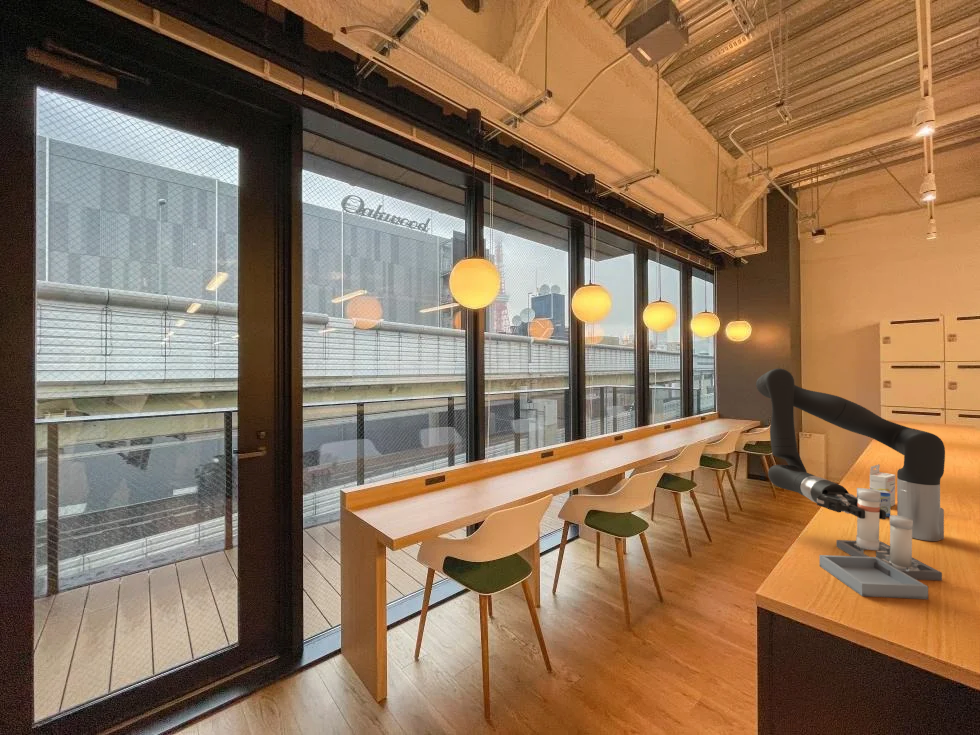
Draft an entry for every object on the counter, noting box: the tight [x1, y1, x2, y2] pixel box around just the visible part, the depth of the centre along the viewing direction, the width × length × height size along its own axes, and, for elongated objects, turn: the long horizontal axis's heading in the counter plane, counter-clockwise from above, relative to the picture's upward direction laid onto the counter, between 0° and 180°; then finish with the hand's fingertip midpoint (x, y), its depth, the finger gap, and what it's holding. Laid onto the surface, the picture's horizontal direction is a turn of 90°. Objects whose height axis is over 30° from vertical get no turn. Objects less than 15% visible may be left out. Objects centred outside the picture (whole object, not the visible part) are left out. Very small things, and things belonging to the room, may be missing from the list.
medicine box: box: [856, 487, 891, 518], centre depth 143 cm, size 8×4×9 cm, turn 68°
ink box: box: [869, 464, 896, 508], centre depth 152 cm, size 9×5×15 cm, turn 117°
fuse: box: [889, 514, 913, 569], centre depth 104 cm, size 4×4×14 cm
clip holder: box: [835, 539, 943, 581], centre depth 109 cm, size 12×18×2 cm
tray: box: [819, 554, 929, 600], centre depth 100 cm, size 14×14×3 cm
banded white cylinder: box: [855, 487, 881, 551], centre depth 100 cm, size 4×4×14 cm
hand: (873, 515), depth 98 cm, fingers closed on banded white cylinder, 4 cm apart
